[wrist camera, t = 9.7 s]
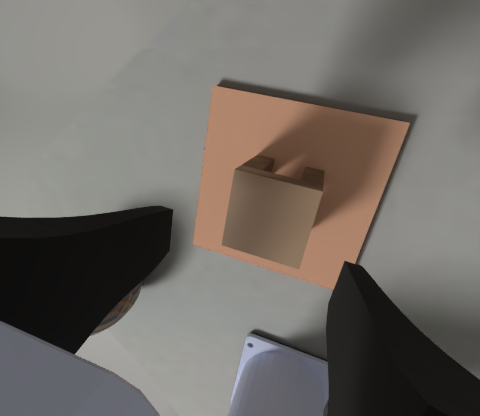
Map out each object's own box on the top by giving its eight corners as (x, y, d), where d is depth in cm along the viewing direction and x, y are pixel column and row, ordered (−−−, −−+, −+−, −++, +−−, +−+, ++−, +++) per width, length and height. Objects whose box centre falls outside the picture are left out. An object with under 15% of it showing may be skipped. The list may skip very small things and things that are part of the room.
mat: (342, 288, 21) (343, 292, 20) (195, 241, 23) (192, 244, 23) (407, 122, 16) (410, 122, 16) (216, 86, 19) (212, 85, 18)
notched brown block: (324, 170, 18) (322, 191, 13) (305, 232, 20) (298, 269, 15) (257, 154, 19) (234, 169, 14) (245, 215, 21) (221, 245, 16)
